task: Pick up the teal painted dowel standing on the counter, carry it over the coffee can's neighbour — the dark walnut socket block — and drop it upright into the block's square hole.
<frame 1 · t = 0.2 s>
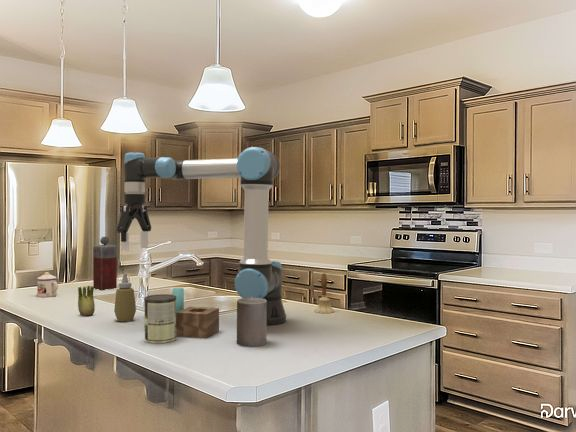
hand: (135, 249, 197), 28 cm above the counter, tool pointing down, fingers open, 13 cm apart
fennel bulb: (86, 316, 208), on the counter
socket block: (198, 333, 179), on the counter
dowel: (178, 327, 188), on the counter
coffee can: (160, 340, 170), on the counter
glass decanter: (104, 288, 280), on the counter
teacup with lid: (49, 296, 254), on the counter
hand bell: (324, 312, 217), on the counter
pillar candle: (251, 343, 166), on the counter
squeeze bottle: (125, 320, 199), on the counter
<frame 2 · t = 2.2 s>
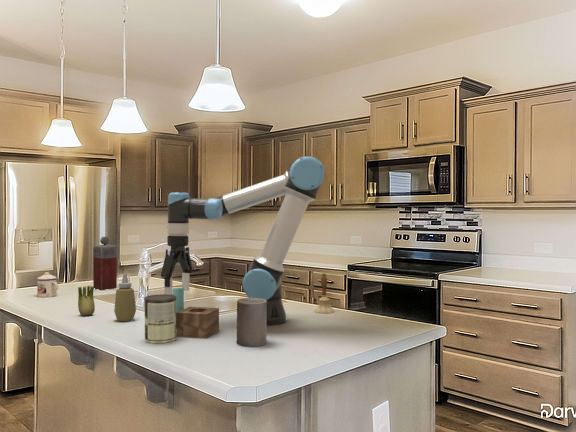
hand: (177, 293, 188), 12 cm above the counter, tool pointing down, fingers open, 13 cm apart
nothing on the counter moved.
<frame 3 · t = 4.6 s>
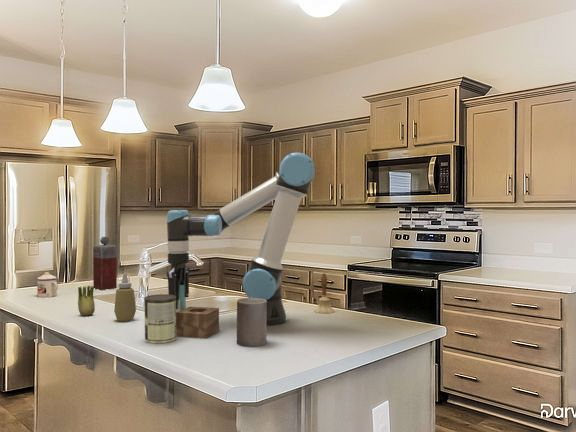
hand: (179, 316, 188), 4 cm above the counter, tool pointing down, fingers closed on dowel, 4 cm apart
dowel: (179, 323, 188), point 1 cm above the counter, touching gripper
everything else where it was.
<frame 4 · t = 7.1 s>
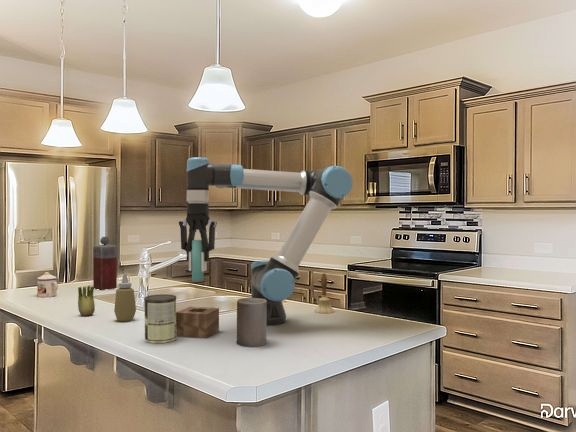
hand: (197, 270, 178), 22 cm above the counter, tool pointing down, fingers closed on dowel, 4 cm apart
dowel: (197, 280, 178), point 18 cm above the counter, touching gripper
everything else where it was.
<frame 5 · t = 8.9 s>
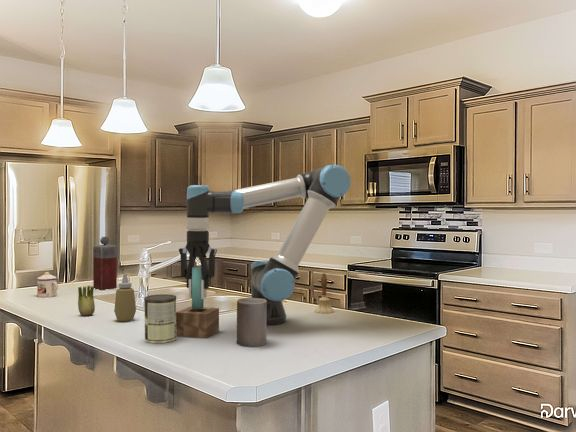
hand: (197, 297, 178), 12 cm above the counter, tool pointing down, fingers closed on dowel, 4 cm apart
dowel: (197, 307, 179), point 9 cm above the counter, touching gripper
everything else where it was.
when the fingers open (10 cm above the counter, at t = 10.3 s): dowel drops 6 cm, resting in socket block.
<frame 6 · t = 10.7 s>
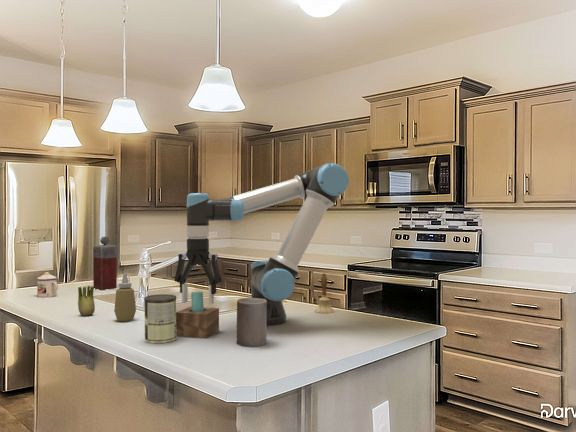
hand: (197, 303, 179), 11 cm above the counter, tool pointing down, fingers open, 9 cm apart
dowel: (198, 333, 179), resting in socket block
everything else where it was.
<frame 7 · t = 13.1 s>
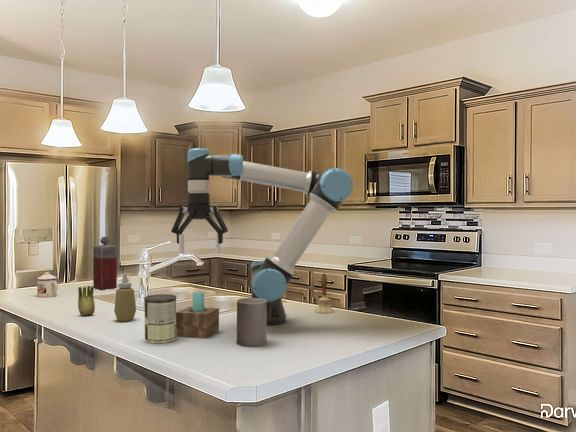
hand: (199, 253, 182), 27 cm above the counter, tool pointing down, fingers open, 13 cm apart
nothing on the counter moved.
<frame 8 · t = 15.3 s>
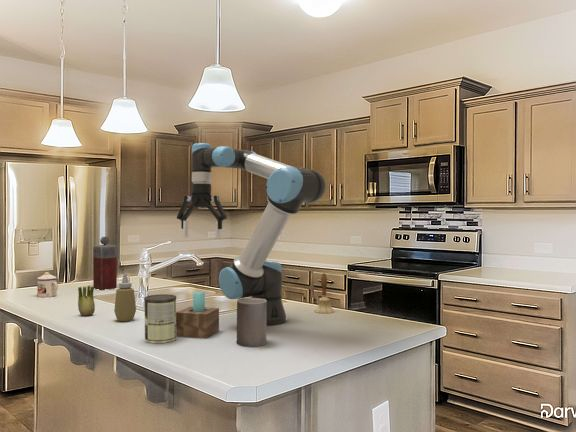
hand: (201, 237, 203), 32 cm above the counter, tool pointing down, fingers open, 13 cm apart
nothing on the counter moved.
at the end: dowel 0.2 cm off-centre on the socket block, point 0.0 cm above the socket block's base; dowel tilted 0°; the gripper is holding nothing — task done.
